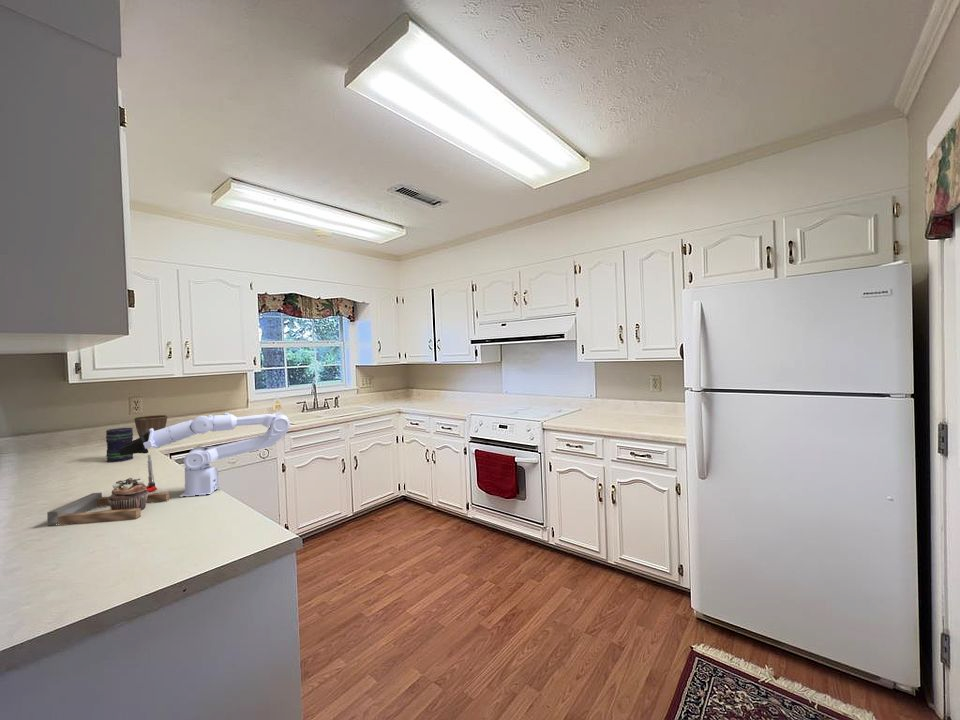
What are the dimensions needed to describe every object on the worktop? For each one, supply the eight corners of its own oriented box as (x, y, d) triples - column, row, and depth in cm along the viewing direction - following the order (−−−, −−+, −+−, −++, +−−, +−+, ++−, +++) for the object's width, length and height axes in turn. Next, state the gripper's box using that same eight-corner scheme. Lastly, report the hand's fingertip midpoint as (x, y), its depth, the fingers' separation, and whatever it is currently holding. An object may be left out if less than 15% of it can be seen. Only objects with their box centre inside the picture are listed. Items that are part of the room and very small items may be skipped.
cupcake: (156, 504, 132) (156, 474, 132) (131, 516, 122) (130, 483, 122) (127, 505, 132) (126, 474, 132) (99, 517, 122) (98, 484, 122)
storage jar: (111, 458, 199) (111, 428, 199) (136, 456, 203) (136, 427, 203) (102, 463, 190) (101, 431, 190) (128, 461, 194) (128, 430, 194)
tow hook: (125, 499, 139) (158, 491, 146) (121, 462, 138) (155, 455, 146) (118, 495, 144) (151, 487, 151) (115, 459, 143) (148, 453, 151)
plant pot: (174, 441, 240) (173, 415, 240) (150, 447, 225) (150, 418, 225) (152, 441, 242) (152, 415, 242) (127, 447, 228) (127, 418, 228)
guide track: (169, 499, 136) (169, 487, 136) (136, 518, 120) (136, 505, 120) (93, 505, 132) (93, 493, 132) (47, 526, 116) (47, 512, 116)
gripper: (171, 420, 145) (125, 434, 139) (162, 427, 132) (111, 443, 126) (179, 437, 146) (133, 452, 140) (170, 447, 134) (120, 464, 128)
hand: (123, 449), depth 134 cm, fingers open, 7 cm apart
